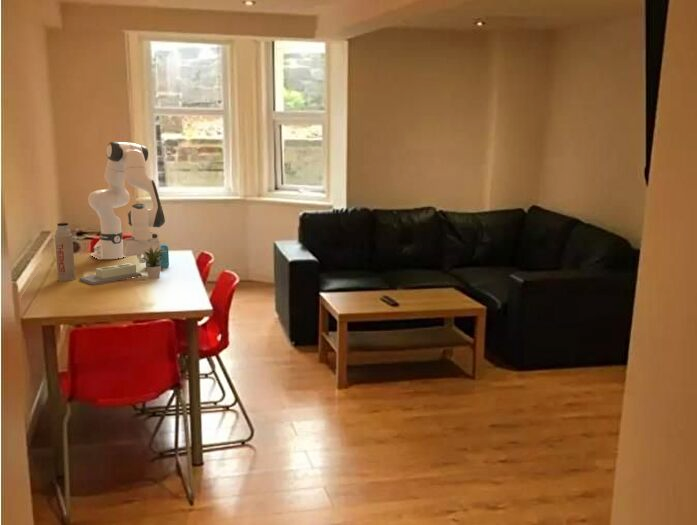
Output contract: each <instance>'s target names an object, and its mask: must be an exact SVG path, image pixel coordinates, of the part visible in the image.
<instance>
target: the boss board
mask: <svg viewBox="0 0 697 525" xmlns="http://www.w3.org/2000/svg"><path fill="white" fill-rule="evenodd" d="M136 272H137V273H132V274H126V275H120V276H114V277H109V278H99V277H96V274H92V275H86V276H81V277H80V276H79V277H78V279H79V281H80V282H83V283H85V284H89V285H92V286H97V285H102V283H103V284H107V283H108V282H109V283H113V281H114V282H118V281H117V280H120V281H123V280H122V279H125V280H128V279H127V278H131V279H133V278H132V277H136V278H139V277H138V276H142V277H143V275H142V273H141V272H138V271H136Z"/></svg>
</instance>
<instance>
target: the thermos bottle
mask: <svg viewBox="0 0 697 525" xmlns="http://www.w3.org/2000/svg"><path fill="white" fill-rule="evenodd" d="M54 241H55V243H54V245H55V255H56V267H57V279H58V281H61V282H70V281H74V280H76V269H75V268H76V267H75V255H74V254H75V253H74V242H73V241H74V240H73V234H72V232H71V229H70V228H69V223H68V222H60V223H57V229H56V230H55V234H54Z"/></svg>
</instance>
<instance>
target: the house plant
mask: <svg viewBox="0 0 697 525" xmlns="http://www.w3.org/2000/svg"><path fill="white" fill-rule="evenodd" d="M158 247H159V246H158ZM158 247H157V249H156V250H155V252H154V255H153V249H152V246H151V248H149V250H148V251H149V252H150V253H148V252H145V251H144V250H143V251H144V252H145V254H146V255H147V256H148V259H149V260H150V261H148V260H147V259H146V258H143V257H141V259H145V260H146V262H145V264H146V263H149V264H150V265H147V266H146V265H145V267H146V268H145V269H146V271H147V276H148V279H150V280H156V279H160V276H161V269H162V268H161V265H159V264H158V263H159V262H158V261H161V262H162V260H163V258H164V257H163V258H162V259H160V258H159V259H158V257H160V256H162V255H164V254H161V255H159V254H160V253H161V252H160V251H161V249H162V248H161V249H160V250H159V251H158V252H157V250H158ZM164 251H165V250H164ZM162 253H163V251H162ZM166 254H169V252H168V253H166ZM157 259H158V260H157Z"/></svg>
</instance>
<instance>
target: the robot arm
mask: <svg viewBox="0 0 697 525" xmlns="http://www.w3.org/2000/svg"><path fill="white" fill-rule="evenodd" d="M105 150H106V151H105V152H106V157H107V163H106V167H105V171H104V174H103V175H104V176H103V177H104V181H105V182H106V183H107V184H108V186H107V188H104V189H98V190H94V191H92V192H90V193H89V194H88V198H87V202H88V204H89V206H90V208H91V209H93V210H94V211H95V213H96V214H97V216H98V218H99V223H100V233H99V240H98V241H97V242H96V244H95V245H94V246H93V252H92V253H90V256H91V257H92V256H93V257H92V258H94V257H95V259H96V258H97V259H96V260H119V259H123V257H124V258H126V257H127V258H128V257H135V256H136V258H138V262H139V263H140V264H144V263H145V264H146V260H145V259H141V258H147V255H146V254H145V252H148V253H150V252H149V251H148V250H149V248H151V246H152V249H153V253H154V252H155V250H156V249H157V247H158V246H159V247H158V250H157V252H158V251H159V250H160V249H161V245H160V244H161V240H160V239H159V237H160V234H158V233H155V232H152V231H150V228H161V227H162V226H163V225H164V224H165V223H166V215H165V212H164V210H163V207H162V204H161V200H160V197H159V193H158V189H157V185H156V183H155V181H154V179H153V178H151V177H150V176H149V174H148V172H147V163H146V162H147V161H148V158H149V150H148V147H147V146H145V145H143V144H138V143H135V142H134V143H133V142H122V141H119V142H118V141H110V142H109V143H108V144H107V147H106V149H105ZM125 181H126V182H127V183H128V184H129V185H130V186H131V187H133V188H136V189H140V190H141V191H142V190H143V191H144V192H147V193H148V194H149V196H150V199H151V203H152V207H153V208H148V206H147V205H146V204H144V203H135V204H132V205H131V209H130V211H129V212H127V216H128V225H129V226H130V227H131V237H125V238H124V233H123V232H122V231H123V230H122V219H121V218H120V217H119V216H118V215H116V213H115V211H114V209H116V208H122V207H123V206H126V205H128V204H129V203H130V200H131V195H130V193H129V191H128V190H127V189H126V182H125ZM143 250H144V251H145V252H144V251H143ZM142 255H143V257H142ZM118 258H119V259H118Z"/></svg>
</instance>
